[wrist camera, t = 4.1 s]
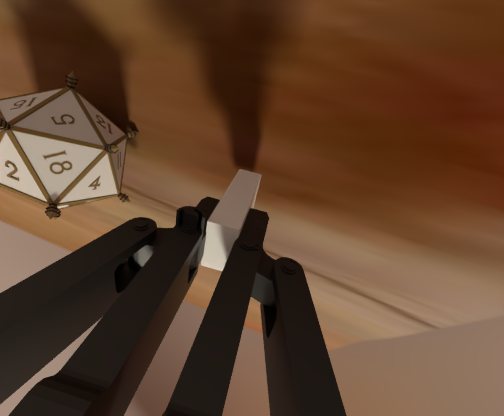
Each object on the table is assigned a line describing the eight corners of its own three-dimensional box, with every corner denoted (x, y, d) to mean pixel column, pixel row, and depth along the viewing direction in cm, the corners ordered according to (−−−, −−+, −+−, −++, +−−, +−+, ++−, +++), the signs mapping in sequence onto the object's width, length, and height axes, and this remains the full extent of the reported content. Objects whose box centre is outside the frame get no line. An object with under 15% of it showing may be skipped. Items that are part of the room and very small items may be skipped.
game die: (153, 137, 23) (159, 235, 18) (55, 158, 23) (32, 266, 17) (96, 26, 16) (79, 141, 10) (-54, 52, 15) (-152, 189, 10)
